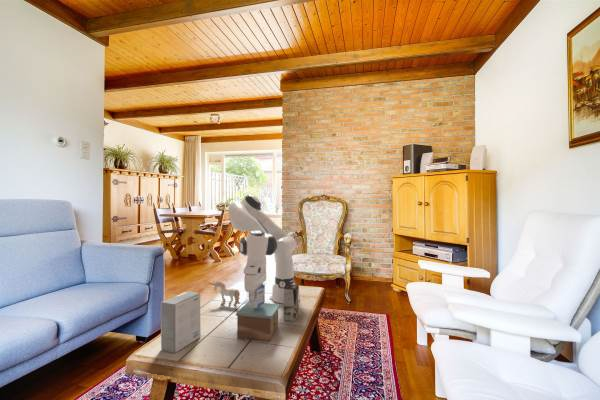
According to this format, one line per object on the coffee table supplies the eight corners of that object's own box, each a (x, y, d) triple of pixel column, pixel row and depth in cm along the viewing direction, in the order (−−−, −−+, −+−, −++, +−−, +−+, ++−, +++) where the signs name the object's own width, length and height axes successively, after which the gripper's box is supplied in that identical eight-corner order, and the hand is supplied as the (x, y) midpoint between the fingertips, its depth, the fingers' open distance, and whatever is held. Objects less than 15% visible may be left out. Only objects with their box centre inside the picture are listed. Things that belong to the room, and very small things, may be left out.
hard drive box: (187, 334, 133) (188, 290, 133) (201, 337, 130) (201, 292, 130) (159, 350, 119) (160, 301, 119) (174, 354, 116) (175, 304, 116)
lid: (248, 304, 144) (248, 301, 144) (280, 306, 141) (280, 304, 141) (235, 316, 129) (235, 313, 129) (271, 319, 126) (271, 316, 126)
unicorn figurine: (212, 301, 176) (212, 279, 176) (243, 303, 174) (243, 281, 174) (207, 305, 169) (207, 282, 169) (239, 307, 167) (239, 284, 167)
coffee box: (295, 321, 148) (295, 289, 148) (283, 320, 150) (283, 288, 150) (299, 314, 157) (299, 284, 157) (287, 313, 159) (287, 284, 159)
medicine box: (257, 308, 131) (257, 289, 131) (248, 307, 132) (248, 288, 132) (264, 302, 138) (265, 284, 138) (256, 301, 140) (256, 283, 140)
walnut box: (248, 325, 143) (248, 305, 143) (278, 328, 140) (278, 307, 140) (237, 338, 129) (237, 316, 129) (269, 341, 127) (269, 319, 127)
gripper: (257, 261, 146) (257, 288, 146) (241, 270, 126) (241, 302, 126) (269, 261, 145) (269, 289, 145) (255, 271, 125) (255, 303, 125)
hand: (256, 295), depth 135 cm, fingers closed on medicine box, 8 cm apart
